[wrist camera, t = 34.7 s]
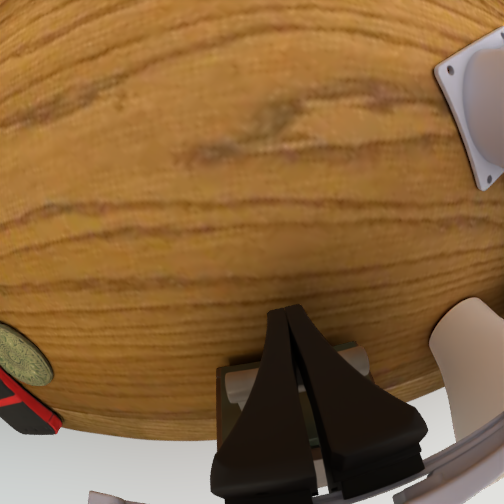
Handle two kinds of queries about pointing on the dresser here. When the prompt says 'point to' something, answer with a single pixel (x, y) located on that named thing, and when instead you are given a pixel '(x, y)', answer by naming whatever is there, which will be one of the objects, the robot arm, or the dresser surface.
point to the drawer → (243, 377)
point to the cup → (471, 364)
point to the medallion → (23, 358)
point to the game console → (25, 409)
